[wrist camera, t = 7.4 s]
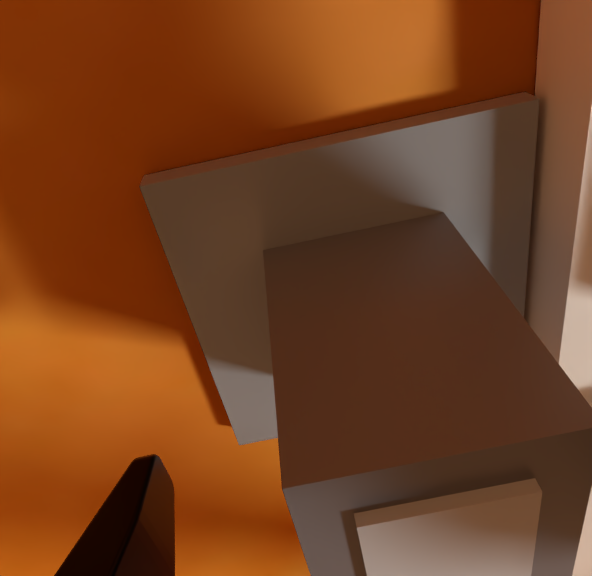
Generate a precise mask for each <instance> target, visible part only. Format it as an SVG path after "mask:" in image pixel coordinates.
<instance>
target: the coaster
mask: <svg viewBox="0 0 592 576" xmlns="http://www.w3.org/2000/svg"><path fill="white" fill-rule="evenodd" d="M538 113H539V98H537V97H535V96H533V95H531V94H529V93H527V92H521V93H516V94H512V95H507V96H503V97H498V98H494V99H489V100H485V101H480V102H475V103H471V104H466V105H462V106H457V107H453V108H448V109H444V110H439V111H434V112H430V113H425V114H421V115H416V116H412V117H407V118H403V119H398V120H393V121H389V122H384V123H380V124H375V125H371V126H366V127H362V128H357V129H352V130H348V131H343V132H339V133H334V134H330V135H325V136H321V137H316V138H311V139H307V140H302V141H298V142H293V143H289V144H284V145H280V146H275V147H270V148H266V149H261V150H257V151H252V152H248V153H243V154H239V155H234V156H229V157H225V158H220V159H216V160H211V161H207V162H202V163H198V164H193V165H188V166H184V167H179V168H175V169H170V170H166V171H161V172H156V173H152V174H147V175H144V176H143V179H142V181H141V184H140V186H139V187H140V190H141V192H142V195H143V197H144V200H145V202H146V205H147V208H148V210H149V213H150V215H151V218H152V221H153V223H154V226H155V228H156V231H157V234H158V236H159V239H160V241H161V244H162V246H163V249H164V252H165V254H166V257H167V259H168V262H169V265H170V267H171V270H172V272H173V275H174V278H175V280H176V283H177V285H178V288H179V291H180V293H181V296H182V298H183V301H184V303H185V306H186V309H187V311H188V314H189V316H190V319H191V322H192V324H193V327H194V329H195V332H196V335H197V337H198V340H199V342H200V345H201V347H202V350H203V353H204V355H205V358H206V360H207V363H208V366H209V368H210V371H211V373H212V376H213V379H214V381H215V384H216V386H217V389H218V392H219V394H220V397H221V399H222V402H223V404H224V407H225V410H226V412H227V415H228V417H229V420H230V423H231V425H232V428H233V430H234V433H235V436H236V438H237V441H238V443H239V445H244V444H249V443H253V442H258V441H263V440H268V439H273V438H278V431H277V418H276V406H275V394H274V381H273V369H272V356H271V344H270V331H269V319H268V306H267V294H266V281H265V269H264V257H263V250H266V249H271V248H275V247H280V246H285V245H290V244H294V243H299V242H304V241H309V240H313V239H318V238H323V237H328V236H333V235H337V234H342V233H347V232H352V231H356V230H361V229H366V228H371V227H375V226H380V225H385V224H390V223H395V222H399V221H404V220H409V219H414V218H418V217H423V216H428V215H433V214H437V213H442V212H444V213H445V215H446V216H447V217H448V218H449V220H450V221H451V222H452V224H453V225H454V226H455V228H456V229H457V230H458V232H459V233H460V234H461V236H462V237H463V238H464V240H465V241H466V242H467V244H468V245H469V246H470V248H471V249H472V250H473V251H474V253H475V254H476V255H477V257H478V258H479V259H480V261H481V262H482V263H483V265H484V266H485V267H486V269H487V270H488V271H489V273H490V274H491V275H492V277H493V278H494V279H495V281H496V282H497V283H498V284H499V286H500V287H501V288H502V290H503V291H504V292H505V294H506V295H507V296H508V298H509V299H510V300H511V302H512V303H513V304H514V306H515V307H516V308H517V310H518V311H519V312H520V314H521V315H522V316H523V317H524V309H525V295H526V281H527V267H528V253H529V239H530V225H531V211H532V197H533V183H534V169H535V155H536V141H537V127H538Z"/></svg>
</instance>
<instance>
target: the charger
mask: <svg viewBox="0 0 592 576" xmlns="http://www.w3.org/2000/svg"><path fill="white" fill-rule="evenodd" d="M263 257H264V269H265V281H266V294H267V306H268V319H269V331H270V344H271V356H272V369H273V381H274V394H275V406H276V418H277V431H278V443H279V456H280V468H281V481H282V490H283V493H284V496H285V499H286V502H287V505H288V508H289V511H290V514H291V517H292V520H293V523H294V526H295V529H296V532H297V535H298V538H299V541H300V544H301V547H302V550H303V553H304V556H305V559H306V562H307V565H308V568H309V571H310V574H311V576H572V574H573V569H574V565H575V560H576V555H577V551H578V546H579V542H580V537H581V533H582V528H583V524H584V519H585V515H586V510H587V505H588V501H589V496H590V492H591V487H592V407H591V406H590V405H589V403H588V402H587V401H586V399H585V398H584V397H583V395H582V394H581V393H580V391H579V390H578V389H577V387H576V386H575V385H574V384H573V382H572V381H571V380H570V378H569V377H568V376H567V374H566V373H565V372H564V370H563V369H562V368H561V366H560V365H559V364H558V362H557V361H556V360H555V358H554V357H553V356H552V354H551V353H550V352H549V350H548V349H547V348H546V347H545V345H544V344H543V343H542V341H541V340H540V339H539V337H538V336H537V335H536V333H535V332H534V331H533V329H532V328H531V327H530V325H529V324H528V323H527V321H526V320H525V319H524V317H523V316H522V315H521V314H520V312H519V311H518V310H517V308H516V307H515V306H514V304H513V303H512V302H511V300H510V299H509V298H508V296H507V295H506V294H505V292H504V291H503V290H502V288H501V287H500V286H499V284H498V283H497V282H496V281H495V279H494V278H493V277H492V275H491V274H490V273H489V271H488V270H487V269H486V267H485V266H484V265H483V263H482V262H481V261H480V259H479V258H478V257H477V255H476V254H475V253H474V251H473V250H472V249H471V248H470V246H469V245H468V244H467V242H466V241H465V240H464V238H463V237H462V236H461V234H460V233H459V232H458V230H457V229H456V228H455V226H454V225H453V224H452V222H451V221H450V220H449V218H448V217H447V216H446V215H445V213H444V212H442V213H437V214H433V215H428V216H423V217H418V218H414V219H409V220H404V221H399V222H395V223H390V224H385V225H380V226H375V227H371V228H366V229H361V230H356V231H352V232H347V233H342V234H337V235H333V236H328V237H323V238H318V239H313V240H309V241H304V242H299V243H294V244H290V245H285V246H280V247H275V248H271V249H266V250H263Z"/></svg>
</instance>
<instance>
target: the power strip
mask: <svg viewBox="0 0 592 576" xmlns="http://www.w3.org/2000/svg"><path fill="white" fill-rule="evenodd" d="M535 97H537V98H539V113H538V127H537V141H536V155H535V169H534V183H533V197H532V211H531V225H530V239H529V253H528V267H527V281H526V295H525V309H524V319H525V320H526V321H527V323H528V324H529V325H530V327H531V328H532V329H533V331H534V332H535V333H536V335H537V336H538V337H539V339H540V340H541V341H542V343H543V344H544V345H545V347H546V348H547V349H548V350H549V352H550V353H551V354H552V356H553V357H554V358H555V360H556V361H557V362H558V364H559V365H560V366H561V368H562V369H563V370H564V372H565V373H566V374H567V376H568V377H569V378H570V380H571V381H572V382H573V384H574V385H575V386H576V387H577V389H578V390H579V391H580V393H581V394H582V395H583V397H584V398H585V399H586V401H587V402H588V403H589V405H590V406H591V407H592V0H541V8H540V23H539V38H538V53H537V69H536V84H535ZM572 576H592V487H591V492H590V496H589V501H588V505H587V510H586V515H585V519H584V524H583V528H582V533H581V537H580V542H579V546H578V551H577V555H576V560H575V565H574V569H573V574H572Z"/></svg>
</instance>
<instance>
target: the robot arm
mask: <svg viewBox="0 0 592 576" xmlns="http://www.w3.org/2000/svg"><path fill="white" fill-rule="evenodd" d="M54 576H175V520H174V487H173V483H172V480H171V478H170V476H169V474H168V472H167V470H166V468H165V467H164V465H163V463H162V461H161V459H160V458H159V456H157V455H156V454H152V455H147V456H143V457H138V458H136V459H134V460H133V461H132V462H131V464H130V465H129V467H128V468H127V470H126V471H125V473H124V474H123V476H122V477H121V478H120V480H119V481H118V483H117V484H116V486H115V487H114V489H113V490H112V492H111V493H110V495H109V496H108V498H107V499H106V500H105V502H104V503H103V505H102V506H101V508H100V509H99V511H98V512H97V514H96V515H95V517H94V518H93V520H92V521H91V522H90V524H89V525H88V527H87V528H86V530H85V531H84V533H83V534H82V536H81V537H80V539H79V540H78V541H77V543H76V544H75V546H74V547H73V549H72V550H71V552H70V553H69V555H68V556H67V558H66V559H65V561H64V562H63V563H62V565H61V566H60V568H59V569H58V571H57V572H56V574H55V575H54Z"/></svg>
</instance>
